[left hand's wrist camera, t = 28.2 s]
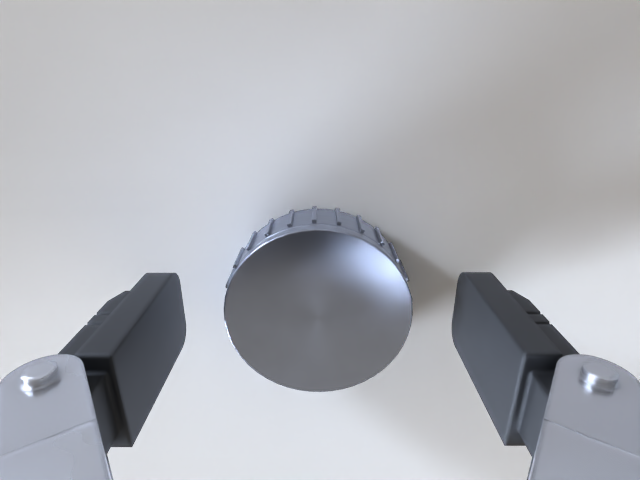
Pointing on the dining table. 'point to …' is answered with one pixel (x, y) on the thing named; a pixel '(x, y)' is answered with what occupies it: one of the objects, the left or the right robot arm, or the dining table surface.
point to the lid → (318, 301)
